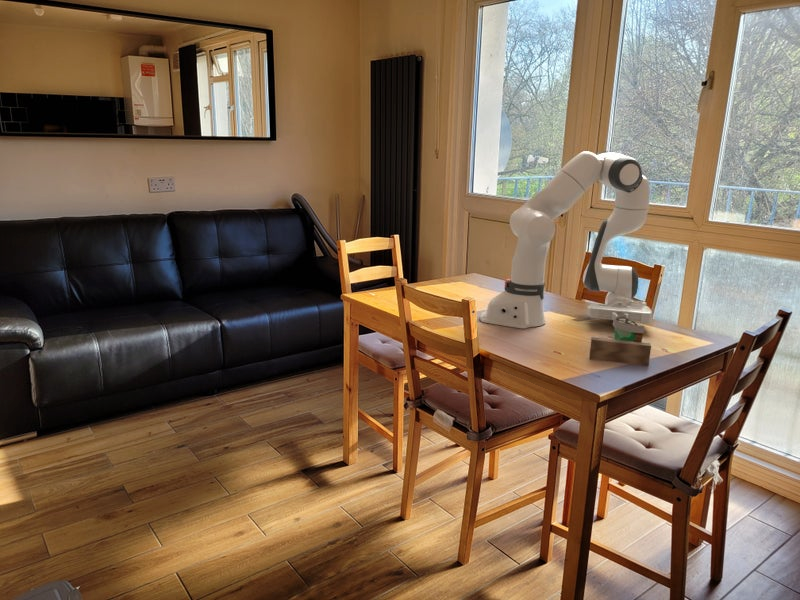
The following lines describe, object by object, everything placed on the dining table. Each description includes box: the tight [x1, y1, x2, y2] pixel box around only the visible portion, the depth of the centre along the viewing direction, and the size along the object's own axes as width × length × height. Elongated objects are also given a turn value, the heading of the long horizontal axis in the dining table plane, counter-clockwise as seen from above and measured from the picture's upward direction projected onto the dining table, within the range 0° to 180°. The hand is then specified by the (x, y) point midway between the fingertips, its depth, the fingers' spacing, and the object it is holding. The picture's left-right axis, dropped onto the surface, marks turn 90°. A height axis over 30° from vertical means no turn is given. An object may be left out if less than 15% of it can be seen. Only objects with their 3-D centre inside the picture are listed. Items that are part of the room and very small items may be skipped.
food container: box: [612, 315, 645, 342], centre depth 180 cm, size 12×6×10 cm, turn 6°
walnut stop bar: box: [589, 336, 652, 367], centre depth 172 cm, size 16×2×6 cm, turn 73°
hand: (620, 319), depth 196 cm, fingers closed
